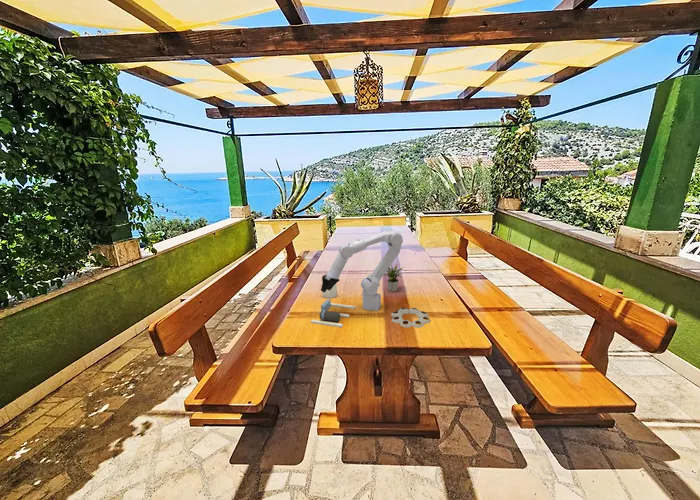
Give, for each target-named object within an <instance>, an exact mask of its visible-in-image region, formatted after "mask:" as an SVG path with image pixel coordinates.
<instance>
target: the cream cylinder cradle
mask: <svg viewBox="0 0 700 500" xmlns="http://www.w3.org/2000/svg"><path fill="white" fill-rule="evenodd" d="M331 307H337V308H344V309H351V310H355V309H356V305H350V304H341V303H334V302H331V299H329V298H326V300H325V301H324V302H323V303H322V304H321V305H320V310H319V311H318V314H319V315H320V312H321V310H326V311H329V309H330V308H331ZM339 313H340V318H346V319H347V318H350V314H349V313H343V312H342V313H341V312H339ZM310 323H311V324H316V325H323V326H328V327H329V326H330V327H337V328H340V329H341V328H343V326H344V325H343V323H339V322H333V321H326V320H317V319H311V320H310Z"/></svg>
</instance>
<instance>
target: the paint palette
mask: <svg viewBox="0 0 700 500" xmlns="http://www.w3.org/2000/svg"><path fill="white" fill-rule="evenodd" d="M407 314H411V315H416V317H418V318H417V320H416V319H415V320H413V321H412V322H411V321H410V320H407V319H406V320H404V318H403V315H407ZM390 315H391V317H392V318H391V322H393V323H395V324H399V325H400V327H403V328H411V327H413V328H422V327H424V326H425V325H424V324H430V323H431V319H430V318H429V316H430V315H429V314H428V312H426V311H420V309H418V308H415V307H411V308H409V309H408V308H406V307H400V308H399V309H398V310H396V311H395V310H394V311H392V312H391V314H390ZM395 318H397V319H395ZM424 318H425V319H424ZM427 319H428V320H427ZM403 322H404V323H405V322H408V323H407V324H404V323H403ZM417 322H419V323H420V324H417Z"/></svg>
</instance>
